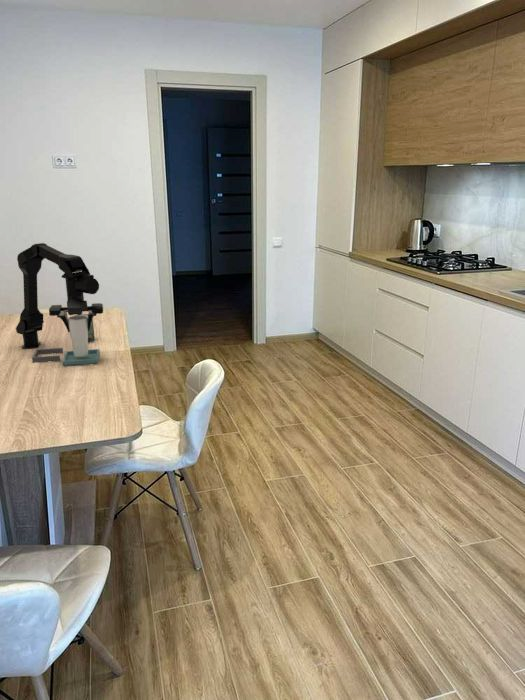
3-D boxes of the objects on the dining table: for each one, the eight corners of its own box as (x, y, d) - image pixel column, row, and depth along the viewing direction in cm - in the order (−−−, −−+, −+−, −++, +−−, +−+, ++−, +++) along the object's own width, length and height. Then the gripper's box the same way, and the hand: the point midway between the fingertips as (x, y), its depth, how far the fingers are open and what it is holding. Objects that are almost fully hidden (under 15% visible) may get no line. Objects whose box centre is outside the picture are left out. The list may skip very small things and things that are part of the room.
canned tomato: (97, 338, 226) (95, 314, 222) (90, 344, 218) (87, 318, 215) (80, 338, 227) (77, 313, 223) (72, 343, 219) (69, 318, 216)
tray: (66, 356, 203) (65, 351, 202) (99, 353, 206) (99, 349, 205) (62, 366, 191) (62, 361, 191) (98, 364, 194) (97, 359, 194)
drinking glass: (84, 358, 194) (81, 320, 190) (68, 357, 196) (64, 319, 191) (93, 353, 201) (90, 315, 196) (77, 352, 202) (74, 314, 197)
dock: (36, 354, 205) (36, 349, 204) (63, 352, 207) (62, 347, 206) (32, 362, 195) (31, 357, 194) (60, 360, 197) (59, 355, 197)
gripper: (44, 296, 181) (49, 339, 185) (100, 294, 185) (103, 336, 190) (49, 290, 191) (53, 330, 196) (101, 288, 195) (104, 328, 200)
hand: (78, 331), depth 195 cm, fingers closed on drinking glass, 7 cm apart
